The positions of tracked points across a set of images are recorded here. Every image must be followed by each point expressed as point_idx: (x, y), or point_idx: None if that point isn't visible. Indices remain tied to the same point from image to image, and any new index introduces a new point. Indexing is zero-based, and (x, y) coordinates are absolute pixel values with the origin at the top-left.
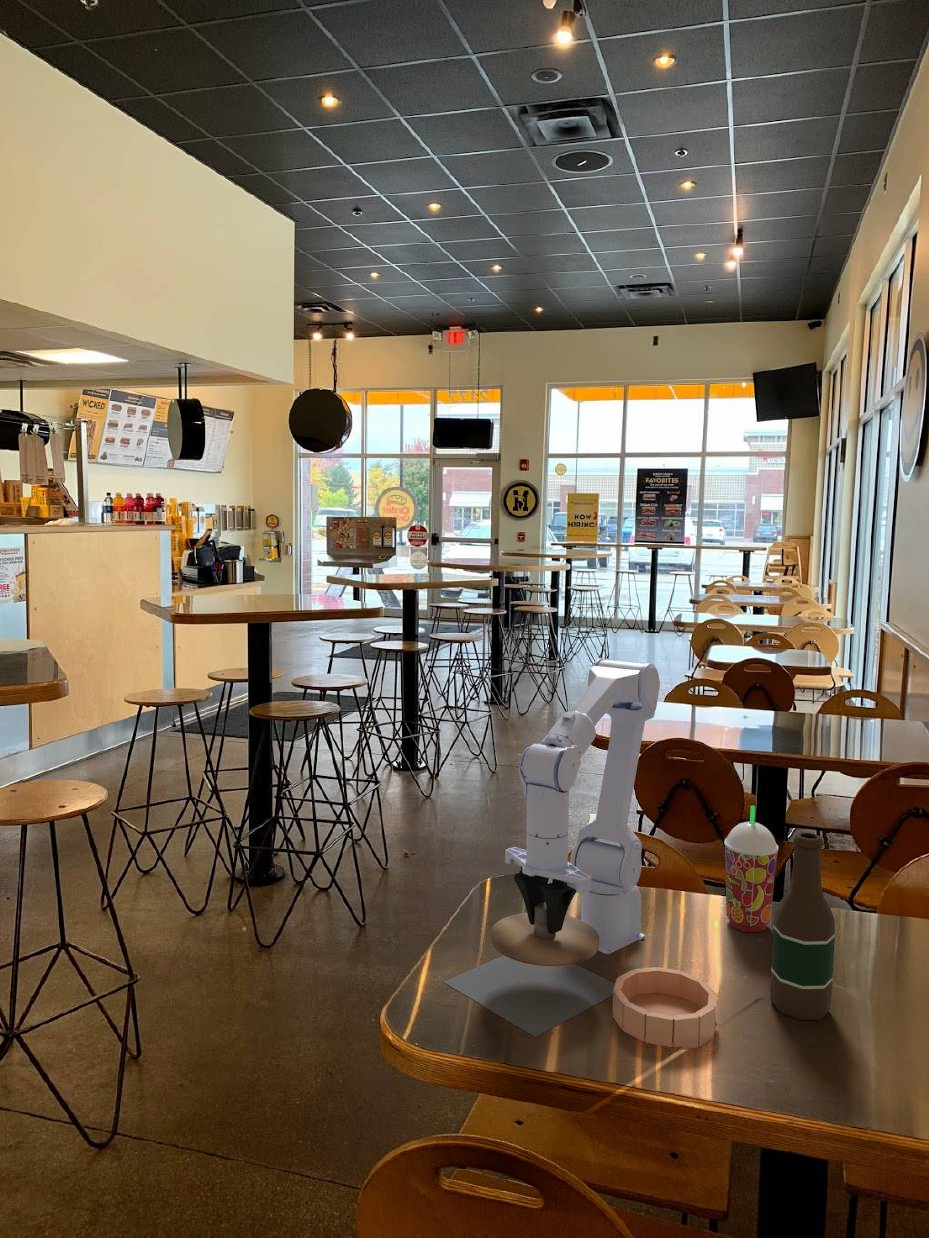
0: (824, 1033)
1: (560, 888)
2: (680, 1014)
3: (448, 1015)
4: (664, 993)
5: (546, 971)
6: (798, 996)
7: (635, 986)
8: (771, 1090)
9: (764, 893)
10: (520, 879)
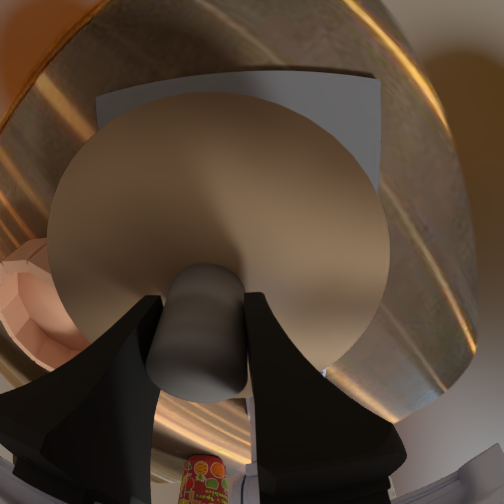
0: (28, 373)
1: (12, 452)
2: (57, 322)
3: (275, 10)
4: None
5: None
6: None
7: None
8: None
9: (180, 490)
10: (302, 472)
